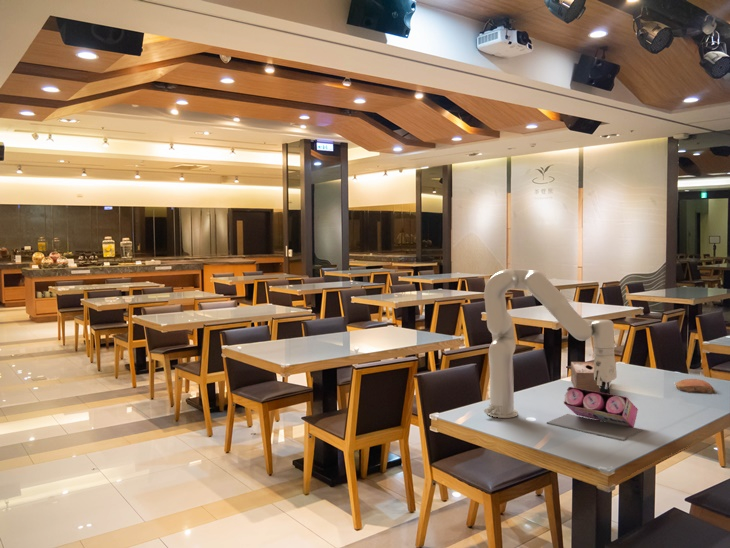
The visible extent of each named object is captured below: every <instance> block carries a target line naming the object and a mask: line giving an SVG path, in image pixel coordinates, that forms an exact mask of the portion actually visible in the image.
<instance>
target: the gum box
mask: <svg viewBox="0 0 730 548" xmlns="http://www.w3.org/2000/svg"><path fill="white" fill-rule="evenodd" d="M566 390H567V391H566V392H565V394H564V401H563V404H564V405H565V406H566V407H567V408H568V409H569V410H571V412H573V414H574V415H576V416H580V417H585V418H590V419H595V420H600V421H604V422H609V423H614V424H619V425H624V426H628V427H633V428H635V424H636V420H637V414H638V411H639V409H638V407H637V406H636V405H634V403H633V402H632V401H631V400H630V398H629V397H627V396H623V395H617V394H611V393H610V394H606V393H601V392H595V391H590V390H584V389H579V388H574V386H569V387H568V388H567V389H566Z"/></svg>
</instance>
